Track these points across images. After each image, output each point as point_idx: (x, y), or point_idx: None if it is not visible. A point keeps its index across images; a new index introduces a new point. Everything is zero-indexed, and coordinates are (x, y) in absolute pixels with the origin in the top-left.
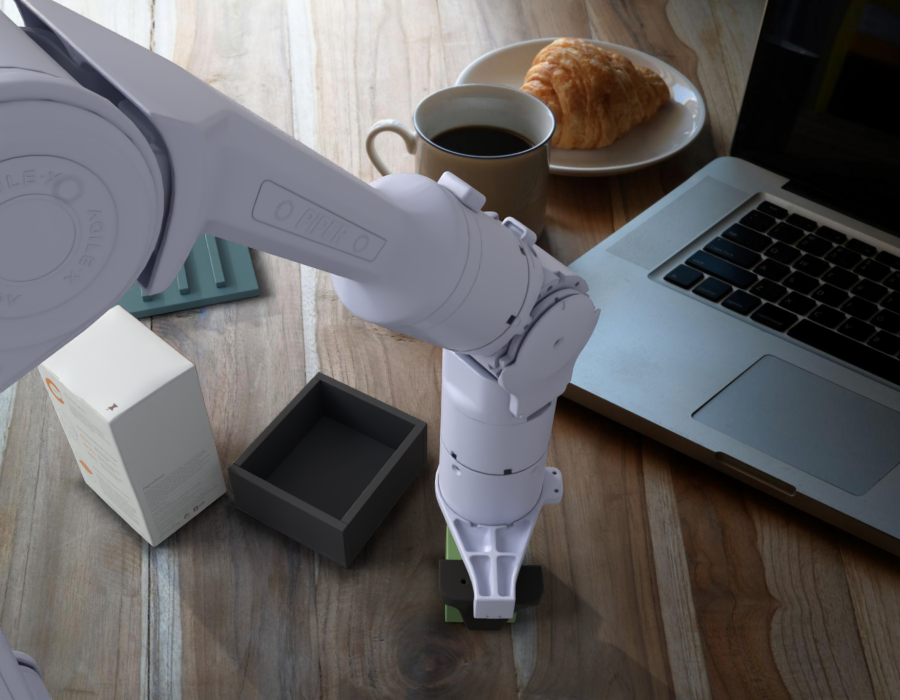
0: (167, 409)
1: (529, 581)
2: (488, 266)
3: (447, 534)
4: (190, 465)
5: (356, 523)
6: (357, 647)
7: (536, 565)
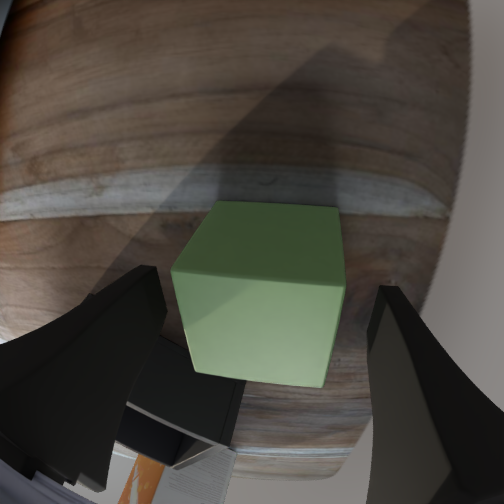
0: None
1: (498, 501)
2: None
3: (215, 374)
4: (184, 487)
5: (208, 422)
6: (343, 376)
7: (458, 498)
